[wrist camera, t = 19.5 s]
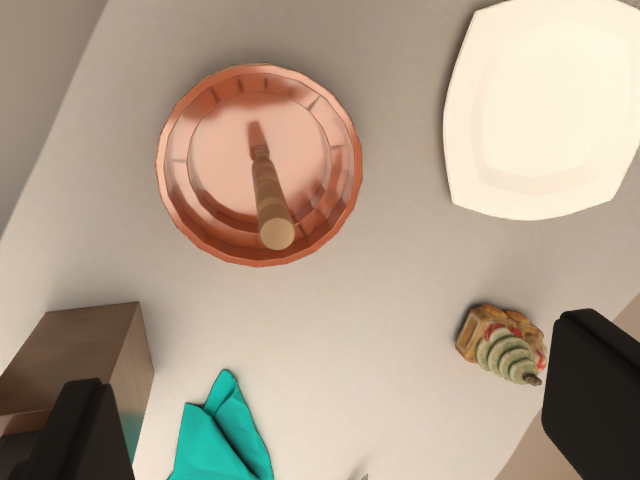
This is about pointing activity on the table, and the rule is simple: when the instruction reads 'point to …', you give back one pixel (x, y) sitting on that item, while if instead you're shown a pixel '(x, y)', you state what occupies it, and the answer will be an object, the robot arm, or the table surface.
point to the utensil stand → (74, 373)
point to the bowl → (238, 156)
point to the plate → (543, 107)
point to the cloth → (220, 439)
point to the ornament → (503, 344)
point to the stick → (270, 203)
